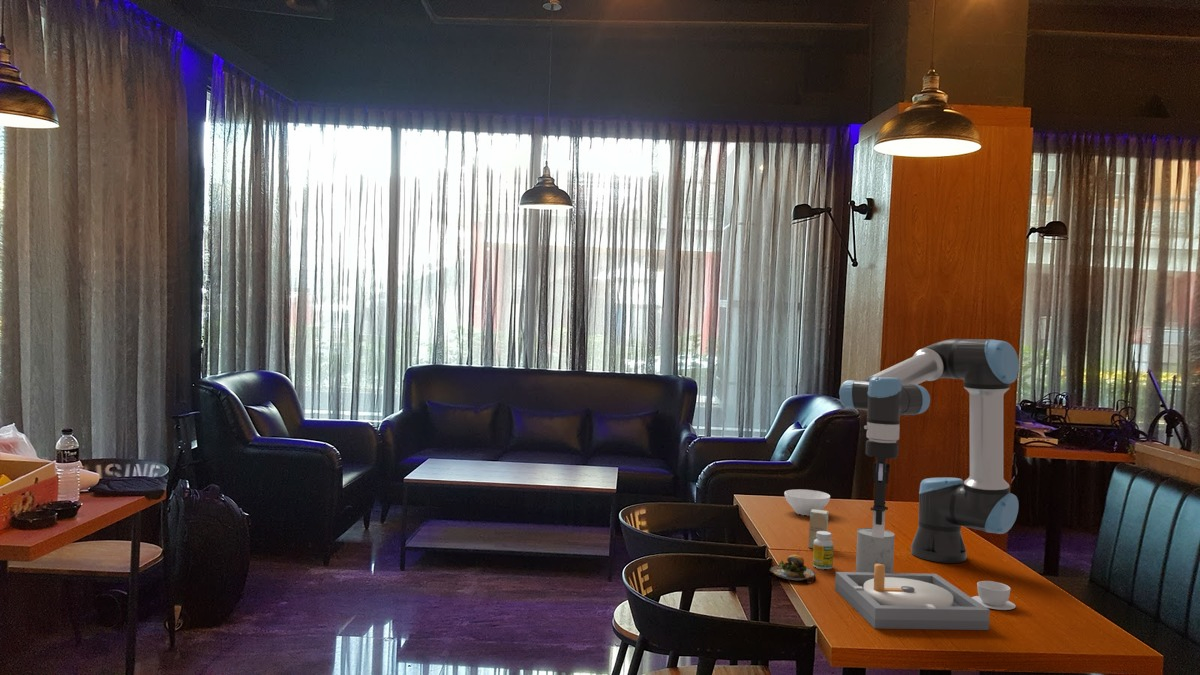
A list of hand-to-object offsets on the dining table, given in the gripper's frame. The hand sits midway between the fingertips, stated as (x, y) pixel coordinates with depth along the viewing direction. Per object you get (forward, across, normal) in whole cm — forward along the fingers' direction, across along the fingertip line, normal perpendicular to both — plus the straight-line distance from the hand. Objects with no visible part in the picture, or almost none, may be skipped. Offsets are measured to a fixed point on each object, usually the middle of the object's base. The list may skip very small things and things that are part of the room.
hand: (878, 536), depth 196 cm
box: (+16, -44, -18) cm, 50 cm away
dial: (+13, +2, +7) cm, 15 cm away
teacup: (+16, -11, +27) cm, 33 cm away
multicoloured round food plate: (+16, -11, -21) cm, 29 cm away
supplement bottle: (+16, -24, -14) cm, 32 cm away
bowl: (+16, -89, -26) cm, 94 cm away
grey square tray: (+16, +2, +7) cm, 17 cm away
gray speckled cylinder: (+16, -20, -1) cm, 25 cm away
